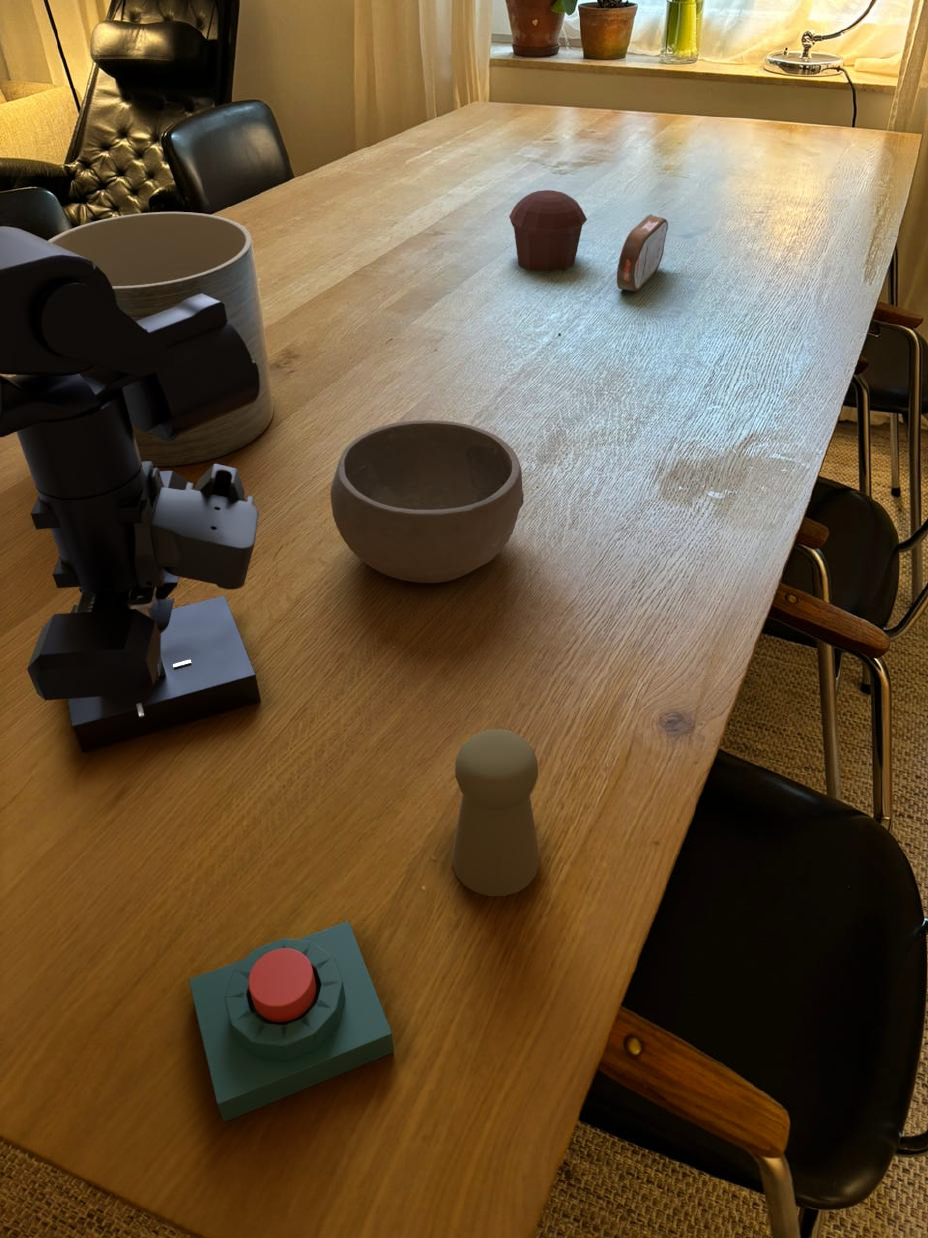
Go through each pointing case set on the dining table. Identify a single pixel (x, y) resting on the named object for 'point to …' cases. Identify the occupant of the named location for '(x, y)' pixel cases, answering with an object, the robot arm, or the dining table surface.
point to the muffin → (547, 230)
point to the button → (282, 985)
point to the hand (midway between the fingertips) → (151, 676)
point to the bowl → (427, 498)
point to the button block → (289, 1025)
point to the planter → (165, 276)
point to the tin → (641, 253)
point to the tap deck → (176, 681)
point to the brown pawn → (496, 814)
